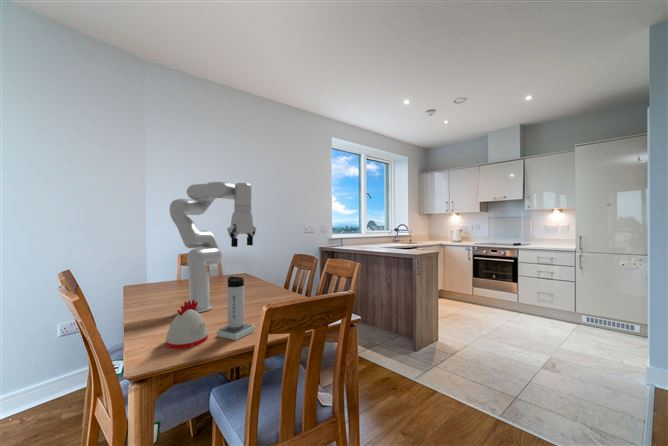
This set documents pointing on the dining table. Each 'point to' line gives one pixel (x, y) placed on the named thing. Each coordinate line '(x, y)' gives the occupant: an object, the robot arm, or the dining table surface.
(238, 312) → the travel mug
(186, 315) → the kitchen timer
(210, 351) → the dining table surface
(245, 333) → the stand
